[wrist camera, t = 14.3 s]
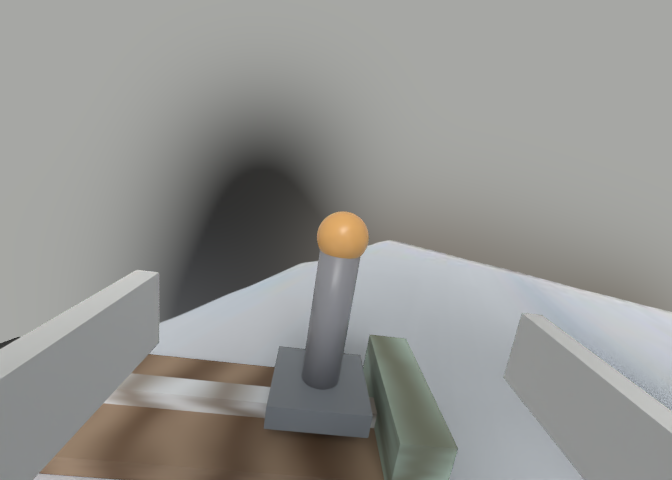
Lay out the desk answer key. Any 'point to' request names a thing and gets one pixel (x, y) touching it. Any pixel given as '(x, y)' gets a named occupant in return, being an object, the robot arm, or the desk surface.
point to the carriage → (325, 346)
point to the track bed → (256, 427)
